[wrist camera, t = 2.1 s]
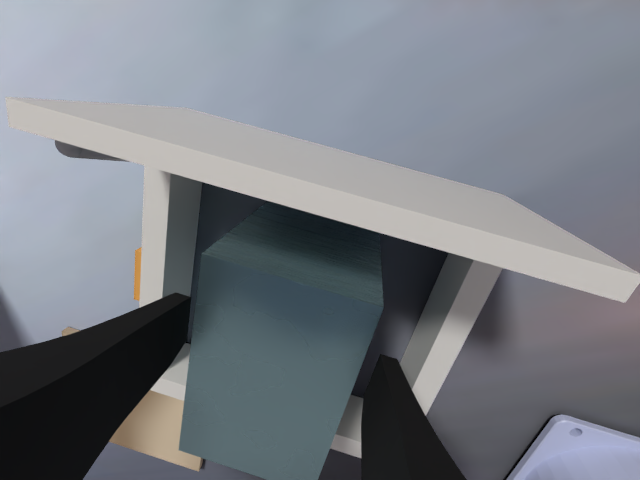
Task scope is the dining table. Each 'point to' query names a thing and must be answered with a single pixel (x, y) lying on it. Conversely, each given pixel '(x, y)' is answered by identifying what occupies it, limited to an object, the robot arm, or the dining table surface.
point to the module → (279, 341)
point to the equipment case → (417, 364)
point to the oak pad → (154, 428)
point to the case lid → (327, 186)
